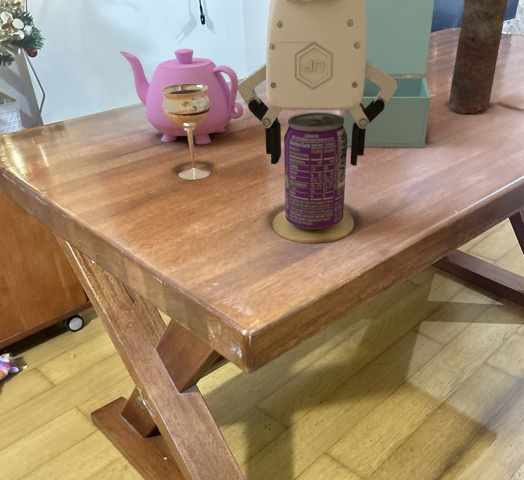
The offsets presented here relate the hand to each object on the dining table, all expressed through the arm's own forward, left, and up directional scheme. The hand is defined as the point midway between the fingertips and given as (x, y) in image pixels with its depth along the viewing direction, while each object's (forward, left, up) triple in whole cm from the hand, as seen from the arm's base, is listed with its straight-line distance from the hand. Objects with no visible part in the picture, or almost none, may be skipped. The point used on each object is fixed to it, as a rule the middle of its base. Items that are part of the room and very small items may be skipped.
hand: (314, 160), depth 62 cm
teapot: (+5, -44, -8) cm, 45 cm away
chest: (-26, -28, -8) cm, 39 cm away
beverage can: (0, 0, -8) cm, 8 cm away
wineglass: (+9, -24, -8) cm, 27 cm away
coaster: (0, 0, -8) cm, 8 cm away
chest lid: (-30, -36, +7) cm, 47 cm away
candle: (-48, -34, -8) cm, 59 cm away
